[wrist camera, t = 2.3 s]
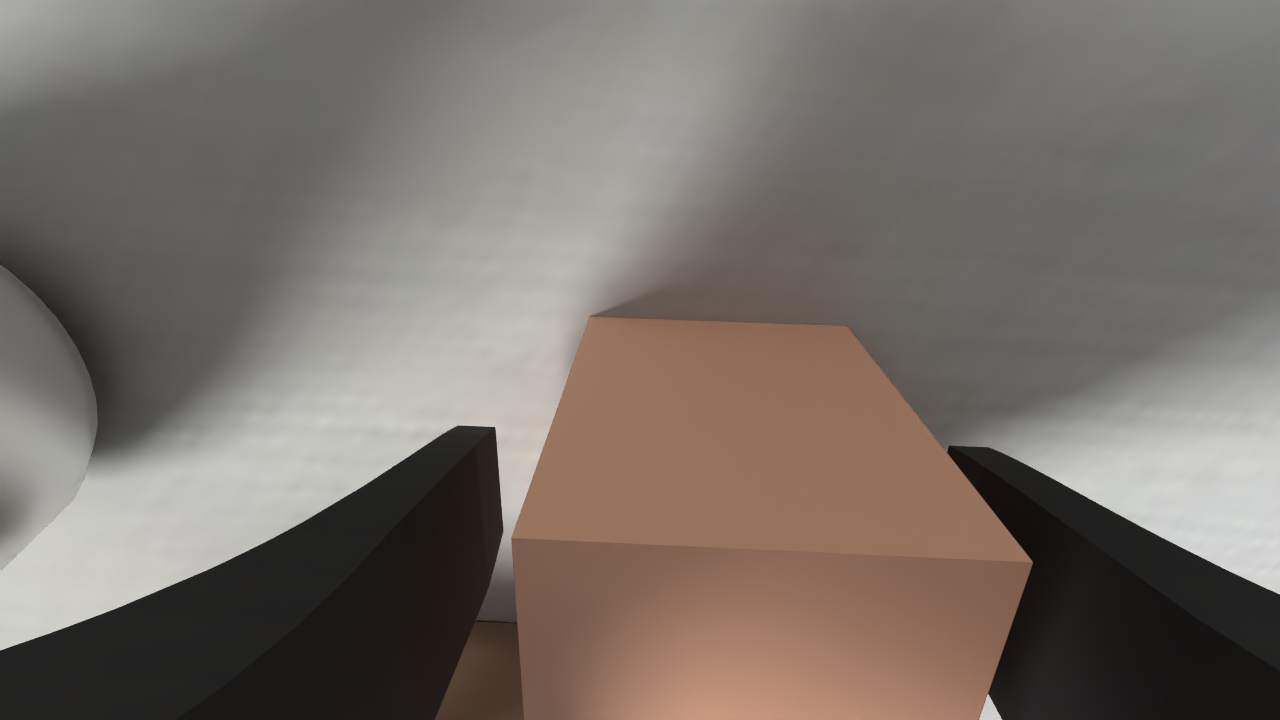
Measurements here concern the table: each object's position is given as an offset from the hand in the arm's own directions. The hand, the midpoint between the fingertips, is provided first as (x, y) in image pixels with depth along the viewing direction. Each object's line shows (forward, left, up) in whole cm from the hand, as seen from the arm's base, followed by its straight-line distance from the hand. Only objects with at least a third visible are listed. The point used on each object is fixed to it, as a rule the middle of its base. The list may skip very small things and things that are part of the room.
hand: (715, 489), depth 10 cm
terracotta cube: (0, 0, -2) cm, 2 cm away
